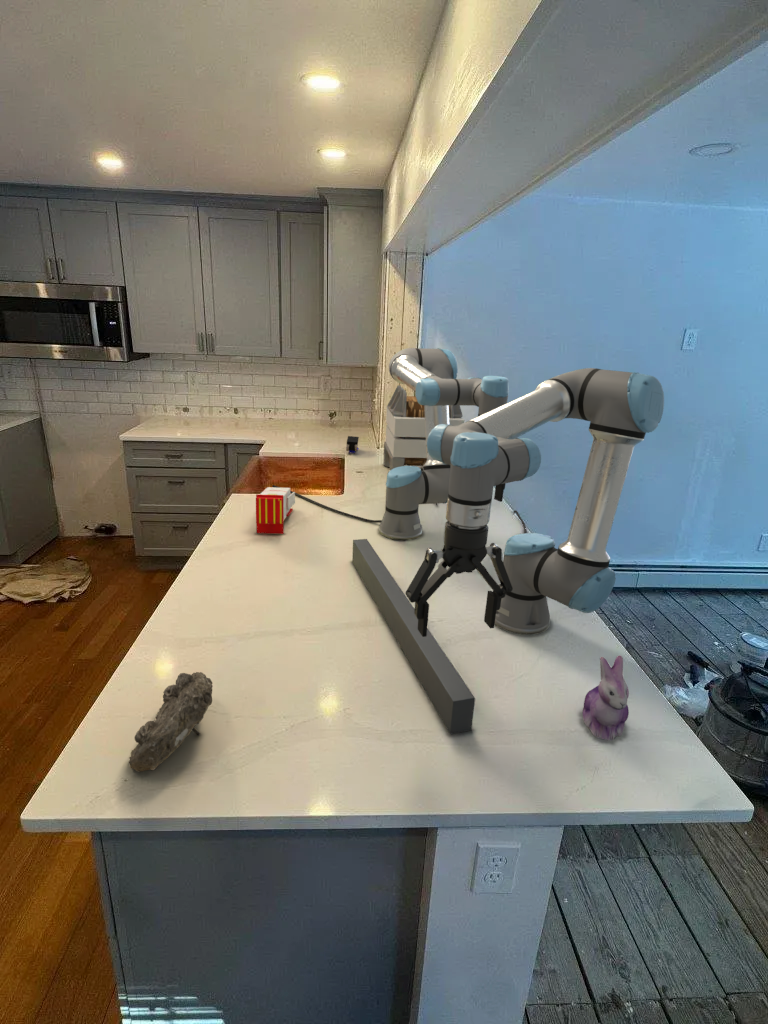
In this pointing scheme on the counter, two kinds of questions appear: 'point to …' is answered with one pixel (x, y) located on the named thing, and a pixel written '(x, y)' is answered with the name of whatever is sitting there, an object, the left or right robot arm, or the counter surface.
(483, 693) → the counter surface
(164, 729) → the fossil
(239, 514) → the counter surface
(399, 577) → the counter surface
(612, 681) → the figurine
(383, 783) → the counter surface
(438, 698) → the bar
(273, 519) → the toy
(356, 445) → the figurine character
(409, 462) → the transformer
